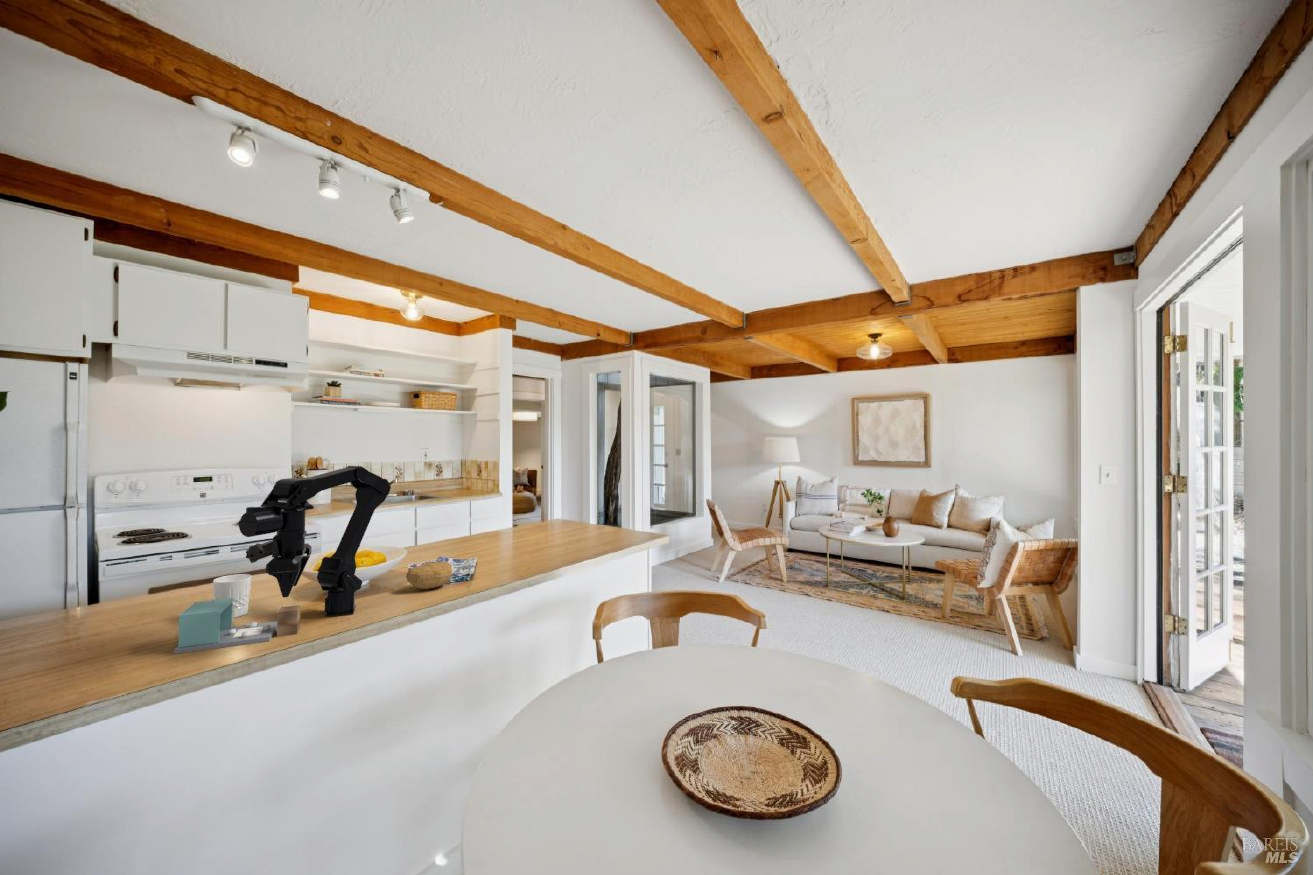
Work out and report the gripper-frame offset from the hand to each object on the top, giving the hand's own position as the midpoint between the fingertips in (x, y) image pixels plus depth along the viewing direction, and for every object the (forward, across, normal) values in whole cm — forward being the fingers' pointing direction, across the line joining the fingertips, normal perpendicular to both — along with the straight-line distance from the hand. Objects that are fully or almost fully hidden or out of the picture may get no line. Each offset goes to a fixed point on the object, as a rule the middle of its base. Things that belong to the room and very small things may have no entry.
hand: (289, 591), depth 123 cm
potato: (+11, -25, +33) cm, 43 cm away
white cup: (+10, -20, -16) cm, 28 cm away
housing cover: (+9, -1, -16) cm, 18 cm away
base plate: (+10, -1, -12) cm, 15 cm away
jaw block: (+10, 0, 0) cm, 10 cm away
